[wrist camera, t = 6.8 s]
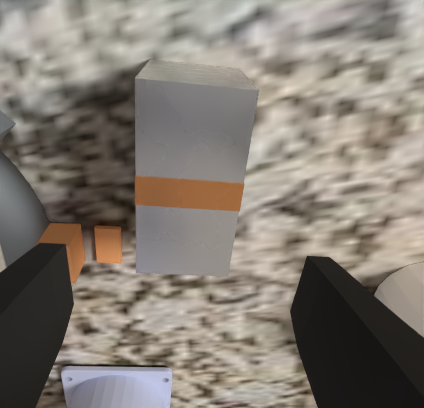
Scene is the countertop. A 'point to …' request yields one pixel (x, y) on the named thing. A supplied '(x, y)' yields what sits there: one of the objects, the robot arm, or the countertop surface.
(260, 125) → the countertop surface
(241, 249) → the countertop surface
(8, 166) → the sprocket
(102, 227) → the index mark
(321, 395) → the robot arm
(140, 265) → the orange-banded grey block
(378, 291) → the white cylinder
